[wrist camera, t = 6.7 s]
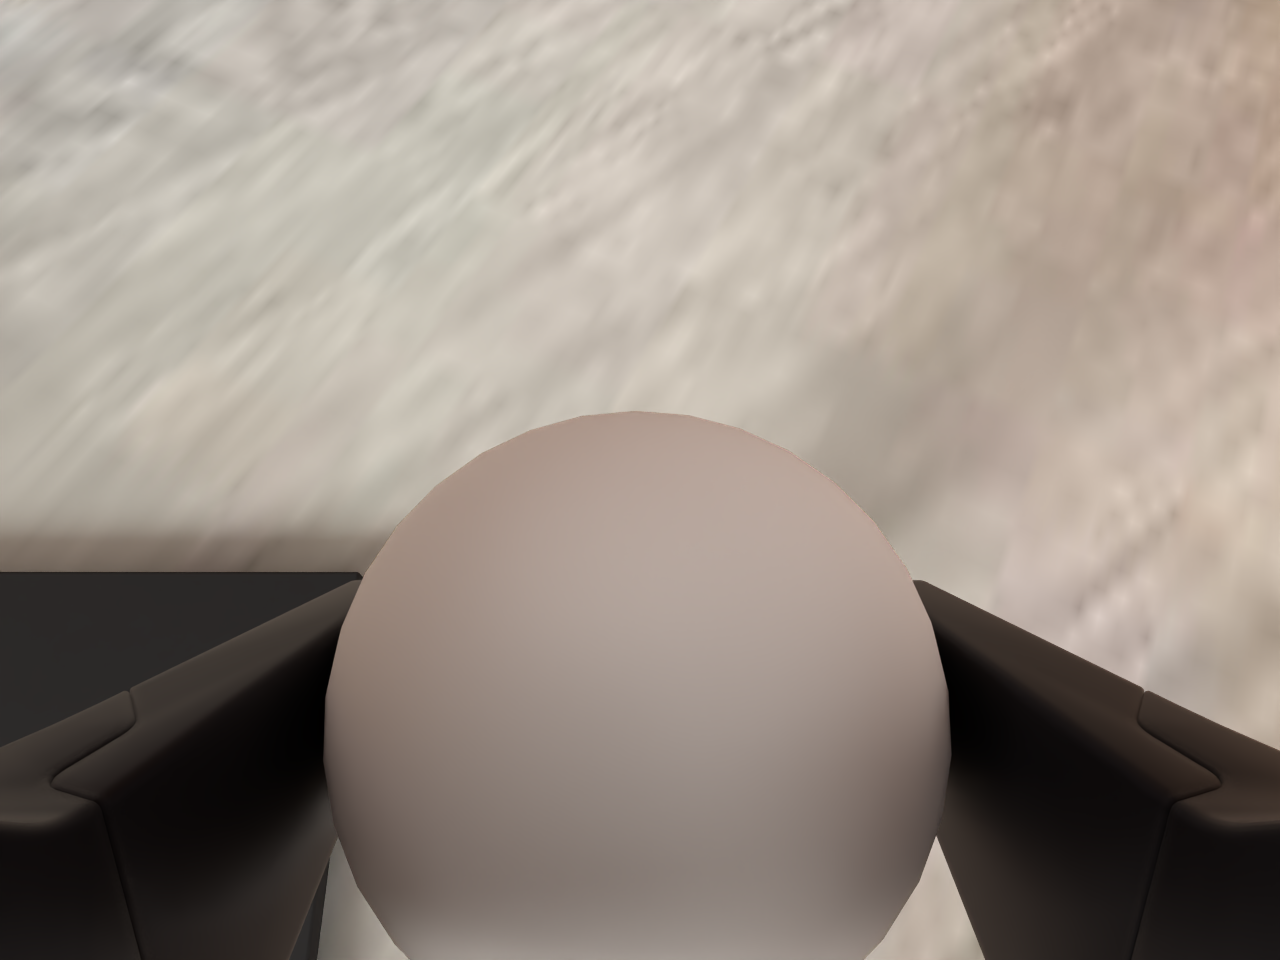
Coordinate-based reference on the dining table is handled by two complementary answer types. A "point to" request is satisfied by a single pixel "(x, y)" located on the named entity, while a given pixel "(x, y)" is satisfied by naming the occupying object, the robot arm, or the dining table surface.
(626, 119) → the dining table surface
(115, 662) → the mat
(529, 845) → the lightbulb
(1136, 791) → the robot arm
